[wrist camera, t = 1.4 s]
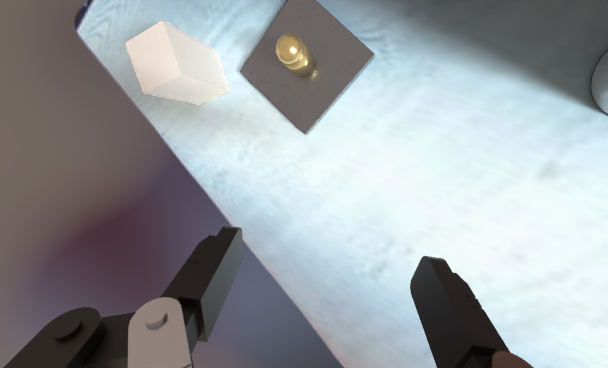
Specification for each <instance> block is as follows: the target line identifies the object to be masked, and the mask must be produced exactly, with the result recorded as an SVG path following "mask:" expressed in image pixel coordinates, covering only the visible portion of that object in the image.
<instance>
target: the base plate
mask: <svg viewBox="0 0 608 368" xmlns="http://www.w3.org/2000/svg"><path fill="white" fill-rule="evenodd" d="M374 55H375V54H374V53H373V52H372V51H371V50H370V49H369V48H368V47H366V46H365V45H364V44H363V43H362V42H361V41H360V40H359V39H358V38H357V37H356V36H354V35H353V34H352V33H351V32H350V31H349V30H348V29H347V28H346V27H345V26H344V25H342V24H341V23H340V22H339V21H338V20H337V19H336V18H335V17H334V16H333V15H332V14H330V13H329V12H328V11H327V10H326V9H325V8H324V7H323V6H322V5H321V4H320V3H318V2H317V1H316V0H288V1H287V3H286V4H285V6H284V7H283V9H282V10H281V12H280V13H279V15H278V16H277V18H276V19H275V21H274V22H273V24H272V25H271V27H270V28H269V29H268V31H267V32H266V34H265V35H264V37H263V38H262V40H261V41H260V43H259V44H258V46H257V47H256V49H255V50H254V52H253V53H252V55H251V56H250V58H249V59H248V61H247V62H246V64H245V65H244V66H243V68H242V69H241V71H240V72H241V73H242V74H243V75H244V76H245V77H246V78H247V79H248V80H249V81H250V82H251V83H252V84H253V85H254V86H255V87H256V88H257V89H258V90H259V91H260V92H261V93H263V94H264V95H265V96H266V97H267V98H268V99H269V100H270V101H271V102H272V103H273V104H274V105H275V106H276V107H277V108H278V109H279V110H280V111H281V112H282V113H283V114H284V115H285V116H286V117H287V118H288V119H289V120H291V121H292V122H293V123H294V124H295V125H296V126H297V127H298V128H299V129H300V130H301V131H302V132H303V133H304V134H306V135H308V134H309V132H310V131H311V130H312V129H313V128H314V127H315V126H316V124H317V123H318V122H319V121H320V120H321V119H322V117H323V116H324V115H325V114H326V113H327V112H328V111H329V109H330V108H331V107H332V106H333V105H334V104H335V103H336V101H337V100H338V99H339V98H340V97H341V96H342V94H343V93H344V92H345V91H346V90H347V89H348V88H349V86H350V85H351V84H352V83H353V82H354V81H355V80H356V78H357V77H358V76H359V75H360V74H361V73H362V71H363V70H364V69H365V68H366V67H367V66H368V65H369V63H370V62H371V61H372V60H373V59H374Z"/></svg>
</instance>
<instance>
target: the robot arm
mask: <svg viewBox="0 0 608 368" xmlns="http://www.w3.org/2000/svg"><path fill="white" fill-rule="evenodd" d="M591 89H592V95H593V98H594V100H595V102H596V104H597V105H598V106H599V107H600V108H601V109H602V111H604V112H605V113H607V114H608V51H607V52H606V53H605V54H604V56H603V57H602V58H601V60H600V61H599V63H598V64H597V66H596V68H595V71H594V74H593V76H592V84H591ZM242 252H243V251H242V229H241V228H238V227H232V226H223V227H222V229H221V230H220V232H219V233H218V235H217V236H208V237H207V238H205V239H204V240H203V241H201V242H200V243H199V244H198V245H197V247H196V248H195V250H194V251H193V253H192V254H191V255H190V257H189V258H188V259H187V262H185V264H184V265H183V266H182V268H181V269H180V271H179V272H178V273H177V275H176V276H175V278H174V279H173V280H172V282H171V283H170V285H169V286H168V287H167V289H166V290H165V292H164V293H163V294H162V295H161V297H160V298H158V299H155V300H152V301H150V302H148V303H147V304H145V305H143V306H142V307H141V308H140V309H138V311H137V312H134V313H129V314H122V315H116V316H109V317H102V318H101V316H100V314H99V312H98V311H97V310H96V309H93V308H89V307H88V308H86V307H84V308H78V309H74V310H71V311H69V312H66V313H64V314H62V315H60V316H58V317H57V318H55V319H54V320H52V321H51V322H50V323H49V324H47V325H46V326H45V327H44V328H43V329H42V330H41V331H40V332H39V333H38V334H37V335H36V336H35V337H34V338H33V339H32V340H31V341H30V342H29V343H28V344H27V345H26V346H25V347H24V348H23V349H22V350H21V351H20V352H19V353H18V354H17V355H16V356H15V357H14V358H13V359H12V360H11V361H10V362H9V363H8V364H7V365H6V366H5V367H4V368H194V365H193V360H192V355H191V354H192V352H193V349H194V347H195V345H196V343H197V341H203V342H207V341H208V339H209V336H210V334H211V332H212V329H213V327H214V325H215V323H216V320H217V318H218V316H219V313H220V311H221V309H222V306H223V304H224V302H225V300H226V297H227V295H228V293H229V290H230V288H231V286H232V283H233V281H234V279H235V276H236V274H237V272H238V270H239V267H240V264H241V261H242ZM410 290H411V295H412V298H413V301H414V304H415V306H416V309H417V312H418V315H419V318H420V320H421V323H422V326H423V329H424V332H425V335H426V337H427V340H428V343H429V346H430V349H431V352H432V354H433V357H434V360H435V363H436V366H437V368H533V367H532V366H531V365H530V364H529V363H527V362H526V361H525V360H523V359H522V358H520V357H518V356H517V355H515V354H512V353H510V351H509V350H508V348H507V347H506V345H505V343H504V342H503V340H502V339H501V337H500V335H499V334H498V332H497V330H496V329H495V327H494V326H493V324H492V322H491V321H490V319H489V318H488V316H487V314H486V313H485V311H484V310H483V309H482V306H481V305H480V303H479V302H478V300H477V299H475V295H474V294H473V292H472V290H471V289H470V287H469V286H468V284H467V283H466V282H465V281H464V280H463V279H462V278H461V277H460V276H459V275H458V274H457V273H453V272H452V271H451V269H450V267H449V266H448V264H447V262H446V261H445V260H444V259H442V258H435V257H428V256H423V257H422V259H421V260H420V263H419V265H418V267H417V269H416V271H415V273H414V275H413V277H412V280H411V284H410Z"/></svg>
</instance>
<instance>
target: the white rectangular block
mask: <svg viewBox="0 0 608 368" xmlns="http://www.w3.org/2000/svg"><path fill="white" fill-rule="evenodd" d="M125 45H126V48H127V51H128V54H129V56H130V59H131V62H132V64H133V67H134V70H135V73H136V75H137V78H138V81H139V83H140V86H141V89H142V92H143V94H147V95H152V96H157V97H162V98H167V99H172V100H177V101H182V102H187V103H192V104H198V105H201V104H203V103H205V102H207V101H210V100H212V99H214V98H216V97H219V96H221V95H223V94H225V93H228V92H230V88H229V85H228V82H227V79H226V76H225V73H224V70H223V67H222V64H221V60H220V57H219V54H218V52H217V51H216V50H214V49H212V48H210V47H209V46H207V45H205V44H203V43H202V42H200V41H198V40H197V39H195V38H193V37H191V36H190V35H188V34H186V33H184V32H183V31H181V30H179V29H177V28H176V27H174V26H172V25H170V24H169V23H167V22H165V21H164V20H162V21H160V22H158V23H157V24H155V25H154V26H152V27H150V28H149V29H147V30H145V31H144V32H142V33H141V34H139V35H137V36H136V37H134V38H132V39H131V40H129V41H128V42H126V43H125Z"/></svg>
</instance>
